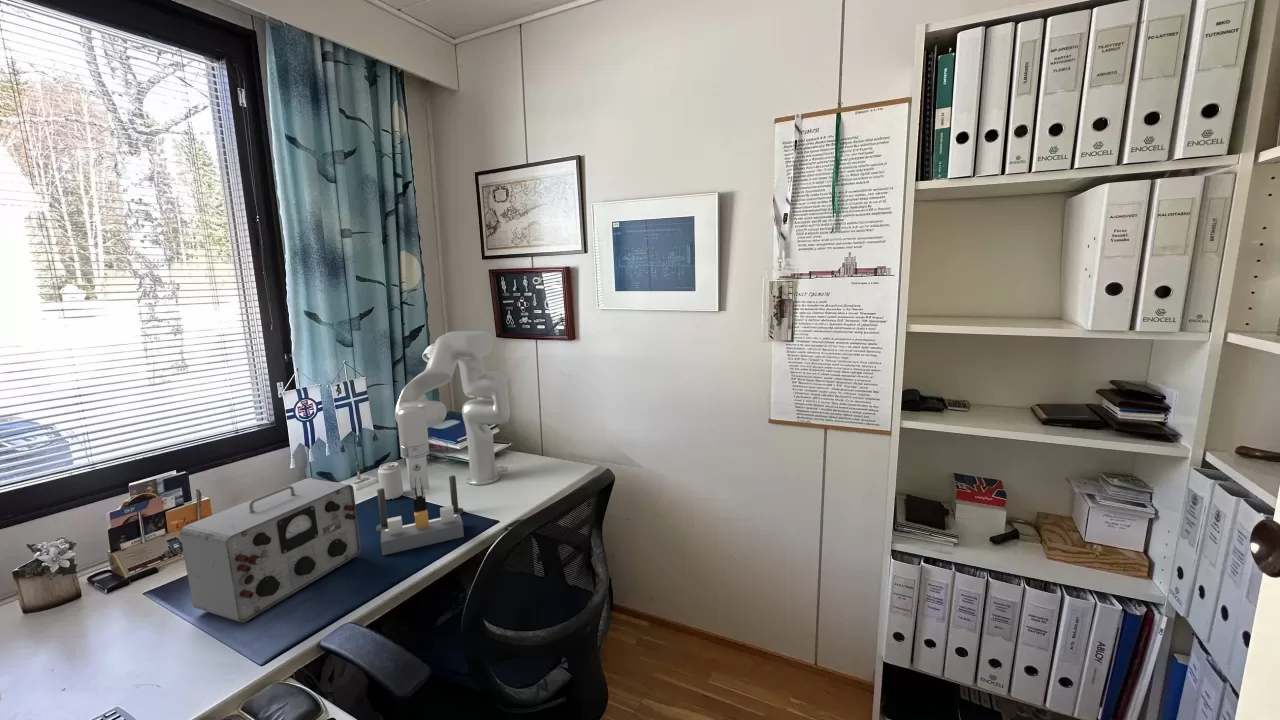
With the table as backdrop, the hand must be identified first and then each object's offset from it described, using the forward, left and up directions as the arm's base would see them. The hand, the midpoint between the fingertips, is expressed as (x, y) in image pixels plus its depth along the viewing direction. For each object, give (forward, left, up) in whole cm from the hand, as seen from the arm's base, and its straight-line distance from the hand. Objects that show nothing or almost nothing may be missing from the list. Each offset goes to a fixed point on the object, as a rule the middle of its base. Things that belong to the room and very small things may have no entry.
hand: (420, 510), depth 148 cm
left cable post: (+10, -16, -10) cm, 21 cm away
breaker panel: (0, -2, -10) cm, 10 cm away
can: (+8, -42, -10) cm, 44 cm away
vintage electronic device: (+32, +6, -10) cm, 35 cm away
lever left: (+7, -2, -6) cm, 9 cm away
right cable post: (-11, -16, -10) cm, 22 cm away
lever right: (-7, -2, -6) cm, 10 cm away
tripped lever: (0, -2, -6) cm, 6 cm away
